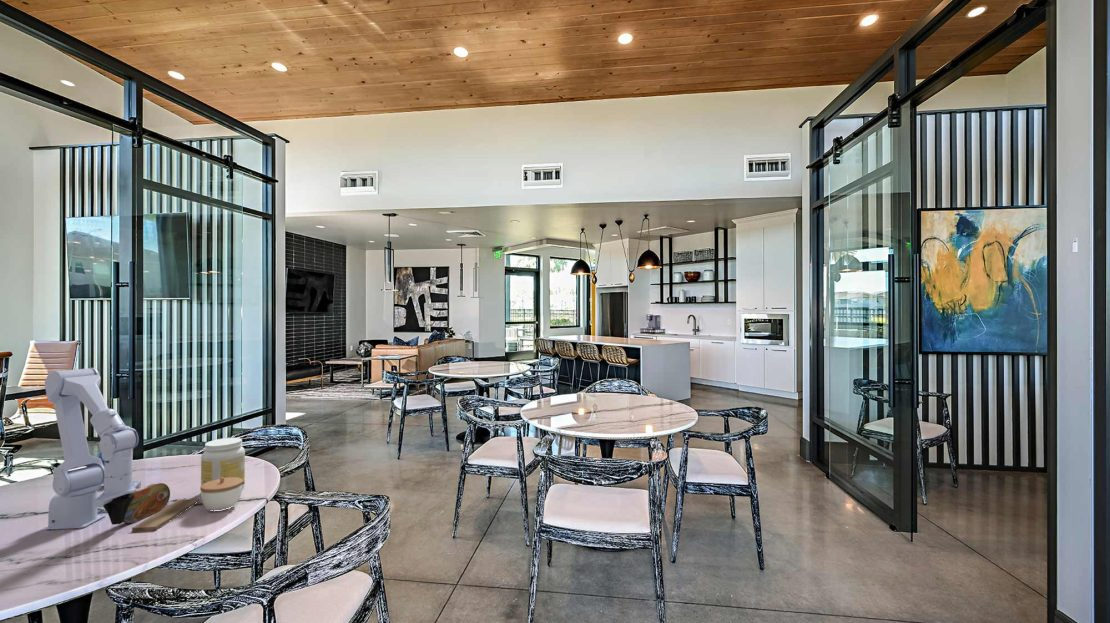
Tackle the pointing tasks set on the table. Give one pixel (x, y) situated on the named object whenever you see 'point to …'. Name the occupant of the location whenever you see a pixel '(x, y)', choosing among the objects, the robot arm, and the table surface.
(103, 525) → the table surface
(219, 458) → the supplement tub
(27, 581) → the table surface
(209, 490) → the lidded jar
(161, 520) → the walnut board
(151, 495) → the tin
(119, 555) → the table surface
